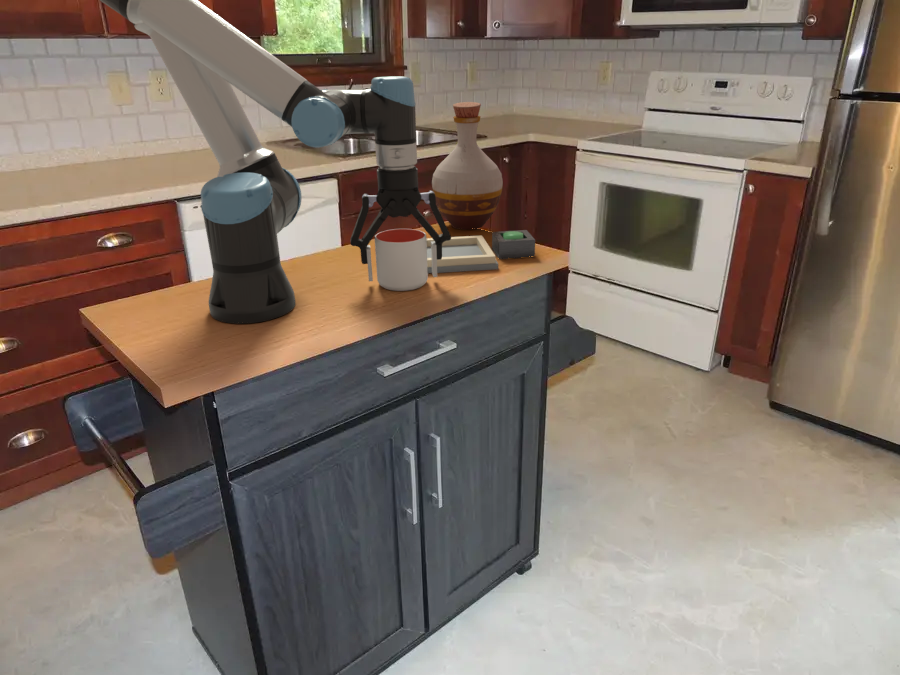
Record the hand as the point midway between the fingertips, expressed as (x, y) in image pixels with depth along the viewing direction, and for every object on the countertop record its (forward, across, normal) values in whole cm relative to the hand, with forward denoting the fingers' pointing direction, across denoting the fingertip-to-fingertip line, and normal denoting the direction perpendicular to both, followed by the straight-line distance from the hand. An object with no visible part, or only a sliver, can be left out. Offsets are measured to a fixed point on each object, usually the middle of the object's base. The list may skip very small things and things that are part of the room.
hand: (402, 277), depth 132 cm
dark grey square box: (+2, +26, +16) cm, 30 cm away
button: (0, +26, +16) cm, 30 cm away
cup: (+2, 0, 0) cm, 2 cm away
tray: (+1, +12, +14) cm, 18 cm away
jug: (+2, +20, +42) cm, 47 cm away
